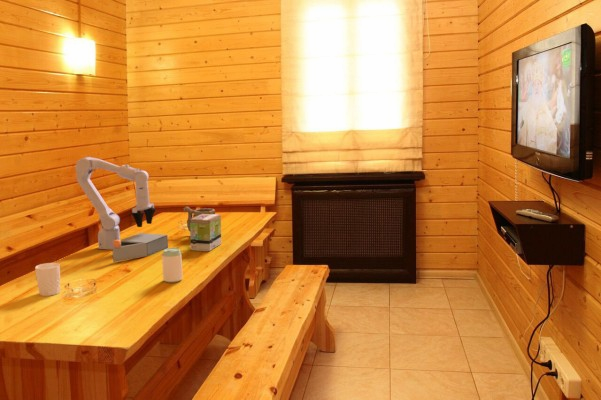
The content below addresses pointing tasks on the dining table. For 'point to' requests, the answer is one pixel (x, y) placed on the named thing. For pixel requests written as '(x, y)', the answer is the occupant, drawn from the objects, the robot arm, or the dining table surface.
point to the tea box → (205, 232)
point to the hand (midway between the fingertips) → (144, 225)
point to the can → (172, 265)
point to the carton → (148, 241)
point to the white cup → (48, 278)
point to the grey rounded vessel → (197, 213)
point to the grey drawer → (128, 251)
